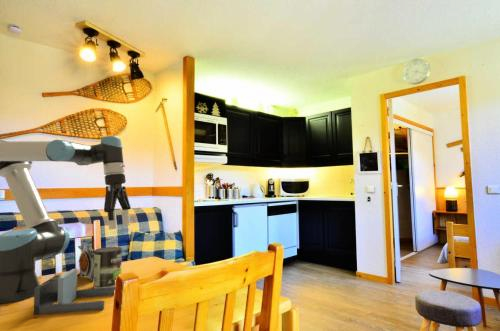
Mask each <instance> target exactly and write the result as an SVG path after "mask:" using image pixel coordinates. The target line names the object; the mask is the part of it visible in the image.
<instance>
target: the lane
mask: <svg viewBox="0 0 500 331" xmlns="http://www.w3.org/2000/svg"><path fill="white" fill-rule="evenodd" d="M59 277H61V274H57V275H54V276H53V277H51V278H49V279H47V280H46V281H45V282H43V283H41V284H40V285H39V286H38V287H36V288H35V290H34V296H33V316H43V315H53V314H55V315H56V314H67V313H81V312H91V311H104V309H105V300H95V301H94V300H93V301H81V302H71V303H65V304H58V303H56V302H58V278H59ZM114 290H115V291H116V287H112V288H97V289H95V288H85V289H84V288H83V289H77V295H76V298H75V299H78V298H79V299H80V298H81V299H82V298H97V297H108V296H109V297H110V296H115V295H114ZM55 303H56V304H55Z"/></svg>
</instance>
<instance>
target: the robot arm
mask: <svg viewBox="0 0 500 331" xmlns="http://www.w3.org/2000/svg"><path fill="white" fill-rule="evenodd" d="M123 155H124V154H123V146H122V140H121V138H120V137H119V136H115V135H106V136H103V137H101V138H100V143H98V144H92V145H87V144H85V143H84V144H83V143H78V142H73V141H68V140H65V139H53V140H50V141H44V140H43V141H42V140H40V141H39V140H35V141H34V140H33V141H30V140H29V141H26V140H25V141H22V140H21V141H7V140H1V139H0V177H2V178H5V182H6V183H7V185H8V189H9V190H10V192H11V194H12V197H13V199H14V202H15V204H16V206H17V209H18V211H19V213H20V215H21V218H22V220H23V222H24V224H25V228H19V229H13V230H8V231H5V232H3V233H1V234H0V304H6V303H8V304H9V303H14V302H17V301H18V302H20V301H22V300H27V299H29V298H32V297H34V290H35V288H36V287H38V286H39V285H41V284H40V281H39V279H38V275H37V273H36V262H37V261H41V260H44V259H47V258H53V257H55V256H58V255H59V254H62V253H63V252H65V251H66V249H67V248H68V246H69V243H70V233H69V231H68V229H67V228H65V227H63V226H59V224H58V222H57V220H56V219H54V218H51V217H50V215H49V212H48V210H47V207H46V206H45V203H44V201H43V199H42V197H41V195H40V193H39V190H38V188H37V186H36V183H35V181H34V179H33V177H32V174H31V172H30V170H31V168H32V164H33V162H60V163H61V162H64V163H65V162H67V163H75V164H76V165H77V166H81V167H82V166H89V165H90V166H91V165H95V164H98V163H102V164H103V174H104V175H105V176H104V183H105V185H106V186H105V196H104V205H103V206H104V207H103V211H104V213H107V221H108V230H116V229H118V221H117V212H116V210H115V208H116V205H117V201H118V203H119V205H120V207H121V209H122V210H121V220H122V227H126V226H130V225H131V221H130V220H131V219H130V212H129V210H131V208H132V206H131V204H130V200H129V197H128V194H127V190H126V186H123V185H122V184H125V183H126V174H125V168H126V165H125V164H124V156H123Z"/></svg>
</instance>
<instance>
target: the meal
mask: <svg viewBox="0 0 500 331" xmlns="http://www.w3.org/2000/svg"><path fill="white" fill-rule="evenodd" d="M77 247H78V249H79V250H80V251H81V253H80V255H79V257H78V265H79V272H77V277H81V278H84V277H85V278H88V279H89V280H90V282H91V283H92V282H93V283H94V250H93V248H92V247H90V246H88V245H87V246H82V245H77Z"/></svg>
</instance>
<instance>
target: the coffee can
mask: <svg viewBox="0 0 500 331" xmlns="http://www.w3.org/2000/svg"><path fill="white" fill-rule="evenodd" d="M93 251H94V281H93V286H92V288H93V289H97V288H112V287H115V280H116V277H117V276H118V275H119V274H121V275H122V263H123V262H122V258H123V257H122V256H123V254H122V253H123V252H122V251H123V248H122V247H120V246H107V247H106V246H105V247H100V248H97V249H94V250H93ZM115 288H116V287H115Z"/></svg>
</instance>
